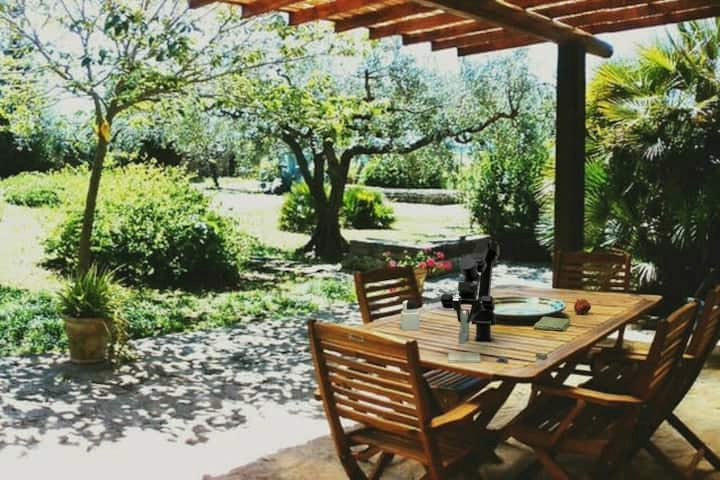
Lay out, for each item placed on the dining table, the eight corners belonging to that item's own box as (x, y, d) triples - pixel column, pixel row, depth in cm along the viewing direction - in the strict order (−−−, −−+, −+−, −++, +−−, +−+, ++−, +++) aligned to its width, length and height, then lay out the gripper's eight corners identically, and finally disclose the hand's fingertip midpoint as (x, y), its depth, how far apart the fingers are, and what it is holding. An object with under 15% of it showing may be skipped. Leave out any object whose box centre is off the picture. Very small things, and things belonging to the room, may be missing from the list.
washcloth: (532, 330, 301) (532, 323, 301) (542, 322, 317) (542, 315, 317) (564, 333, 295) (564, 325, 295) (572, 325, 311) (572, 317, 311)
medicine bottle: (417, 326, 312) (417, 299, 311) (419, 330, 305) (419, 301, 304) (401, 327, 312) (400, 299, 311) (402, 330, 305) (402, 302, 304)
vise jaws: (494, 360, 253) (494, 356, 253) (542, 356, 257) (542, 352, 257) (500, 363, 248) (500, 360, 248) (549, 359, 253) (549, 356, 252)
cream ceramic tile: (448, 354, 262) (448, 352, 262) (479, 354, 261) (479, 352, 261) (448, 362, 252) (448, 359, 252) (480, 362, 250) (480, 360, 250)
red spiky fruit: (593, 319, 330) (585, 303, 337) (595, 309, 325) (587, 293, 332) (577, 322, 330) (570, 305, 337) (579, 311, 325) (572, 295, 332)
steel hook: (461, 339, 258) (461, 309, 257) (470, 340, 257) (470, 309, 256) (456, 344, 251) (456, 312, 250) (465, 344, 250) (465, 313, 249)
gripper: (441, 271, 261) (433, 307, 251) (493, 273, 254) (486, 310, 245) (447, 290, 269) (439, 325, 259) (497, 292, 262) (491, 328, 253)
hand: (463, 322), depth 254 cm, fingers closed on steel hook, 3 cm apart
